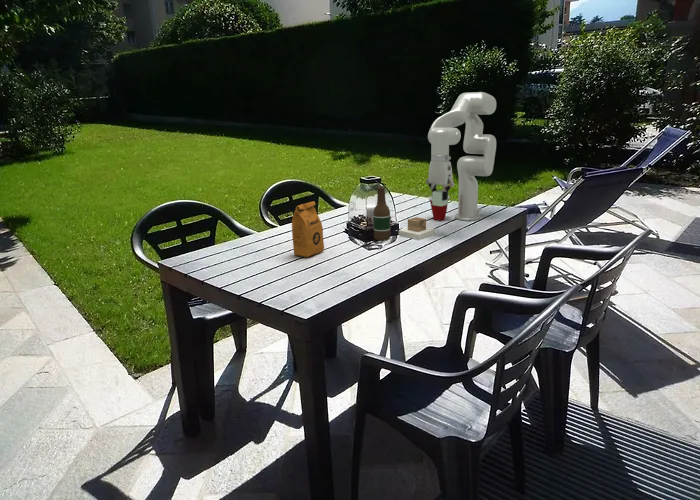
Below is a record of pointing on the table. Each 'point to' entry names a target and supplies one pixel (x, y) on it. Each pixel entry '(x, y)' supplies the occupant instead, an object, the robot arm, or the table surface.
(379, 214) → the beer bottle
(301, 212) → the coffee package
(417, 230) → the walnut block
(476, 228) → the table surface
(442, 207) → the plastic cup
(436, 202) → the sage block
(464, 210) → the robot arm
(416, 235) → the base slab
